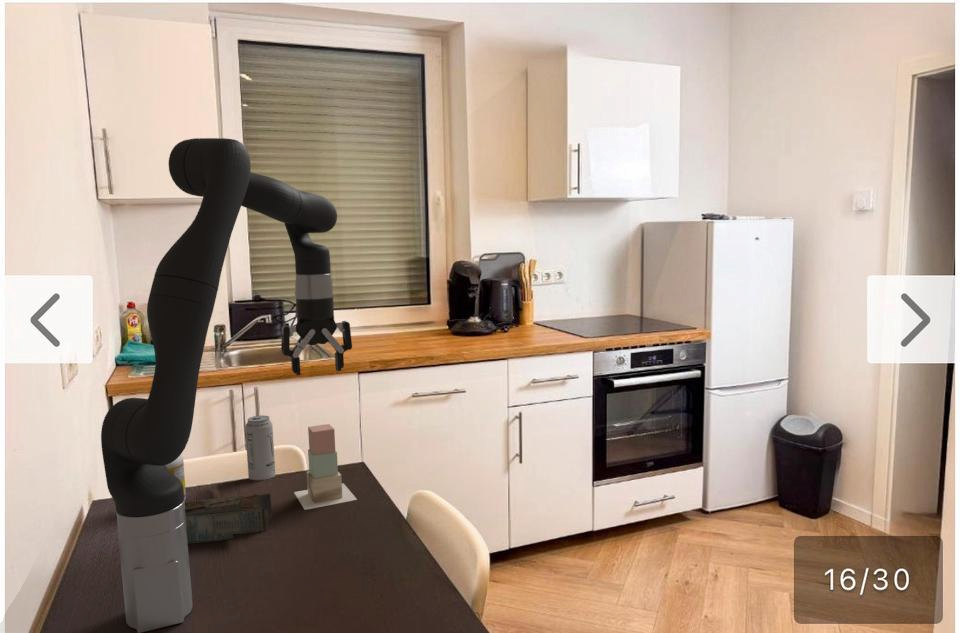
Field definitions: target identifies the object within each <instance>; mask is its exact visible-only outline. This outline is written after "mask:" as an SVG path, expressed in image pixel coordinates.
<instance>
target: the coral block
mask: <svg viewBox="0 0 960 633" xmlns="http://www.w3.org/2000/svg"><path fill="white" fill-rule="evenodd" d="M307 431H308V432H307V433H308V434H307V435H308V448H309V450H310V451H311V452H312V453H313V455H320V454H326V453H332V452H335V451H336V440H335V439H336V438H335V437H336V436H335V433H336V432H335V428H334V427H333V426H332V425H331V424H330V423H327V424H319V425H313V426H308V427H307Z"/></svg>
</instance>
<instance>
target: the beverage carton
mask: <svg viewBox="0 0 960 633" xmlns="http://www.w3.org/2000/svg"><path fill="white" fill-rule="evenodd" d="M272 510H273V509H272V500H271V494H270V493H265V494H257V493H255V494H251V495H243V496H241V495H240V496H232V497H231V496H230V497H222V498H211V499H210V498H208V499H196V500H188V501H187V500H185V514H186V528H187V541H188V544H199V543H208V542H210V543H211V542H220V541H229V540H235V538H234V535H238V534H239V535H240V534H251V533H252V534H253V533H261V532H266V531H267V530H268V528H269V527H270V524H271V522H272V520H273V512H272Z"/></svg>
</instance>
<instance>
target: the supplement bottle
mask: <svg viewBox="0 0 960 633" xmlns="http://www.w3.org/2000/svg"><path fill="white" fill-rule="evenodd" d="M184 462H185V461H184V457H183V456H182V454H181V455H180V456H179V457H178V458H177V459H176V460H175V461H173V462H172V463H170V464H167V465H165V466H166V467H167V468H168V470H169V471H170V472H171V473H172V474H173V475H175V476H176V477H177V478H178V479H179V480H180V481H181V482H182V484H183V489H184V501H186V499H187V491H186V479H185V478H186V477H185V467H184V466H185V464H184Z"/></svg>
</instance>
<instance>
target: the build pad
mask: <svg viewBox="0 0 960 633" xmlns="http://www.w3.org/2000/svg"><path fill="white" fill-rule="evenodd" d="M293 493H294V495H295V497H296V498H297V500H298V501H299V503H300V504H301V506H302V508H303V509H304V511H307V510H311V509H316V508H317V509H318V508H321V507H327V506H331V505H338V504H342V503H348V502H353V501H357V500H358V499H357V497H356V496H355V495H354V494H353V493H352V492H351V490H350V489H349V488H348V487H347V486H346V484H345V483H342V498H339V499H334V500H328V501H323V502H318V503H314V502H313V501H312V499H311V498H310V496H309V495H308V489H304V490H299V491H294V492H293Z"/></svg>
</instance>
